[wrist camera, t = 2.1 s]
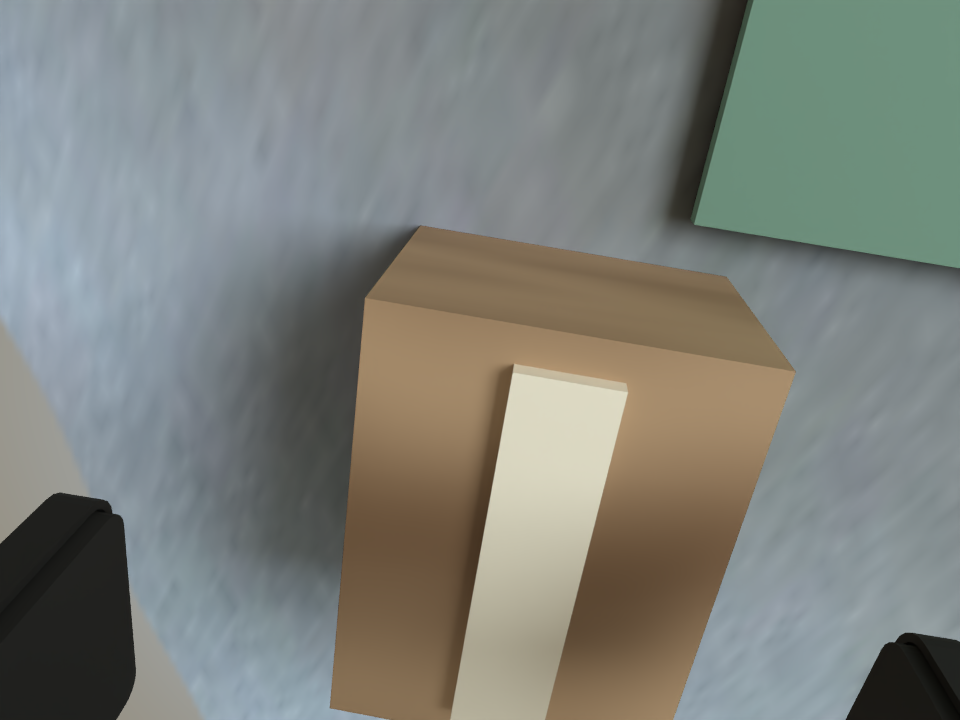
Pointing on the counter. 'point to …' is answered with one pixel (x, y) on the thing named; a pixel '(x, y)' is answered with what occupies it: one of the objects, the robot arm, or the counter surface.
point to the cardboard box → (544, 480)
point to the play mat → (841, 128)
